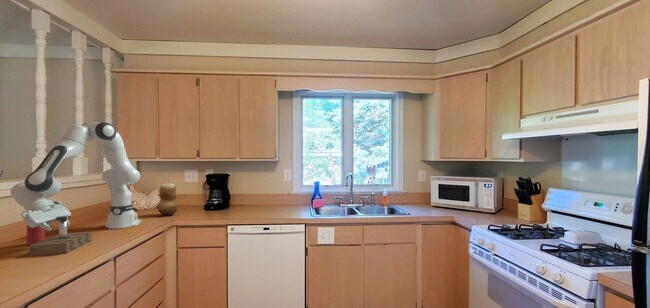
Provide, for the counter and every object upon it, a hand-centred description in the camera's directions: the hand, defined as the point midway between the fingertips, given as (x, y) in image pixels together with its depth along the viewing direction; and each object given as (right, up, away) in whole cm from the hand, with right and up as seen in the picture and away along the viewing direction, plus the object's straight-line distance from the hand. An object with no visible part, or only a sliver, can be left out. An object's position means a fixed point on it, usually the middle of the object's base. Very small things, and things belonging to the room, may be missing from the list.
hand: (60, 227), depth 143 cm
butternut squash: (+12, -11, +77) cm, 79 cm away
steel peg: (+1, -10, 0) cm, 11 cm away
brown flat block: (+1, -10, 0) cm, 11 cm away
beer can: (-19, -11, +7) cm, 23 cm away
